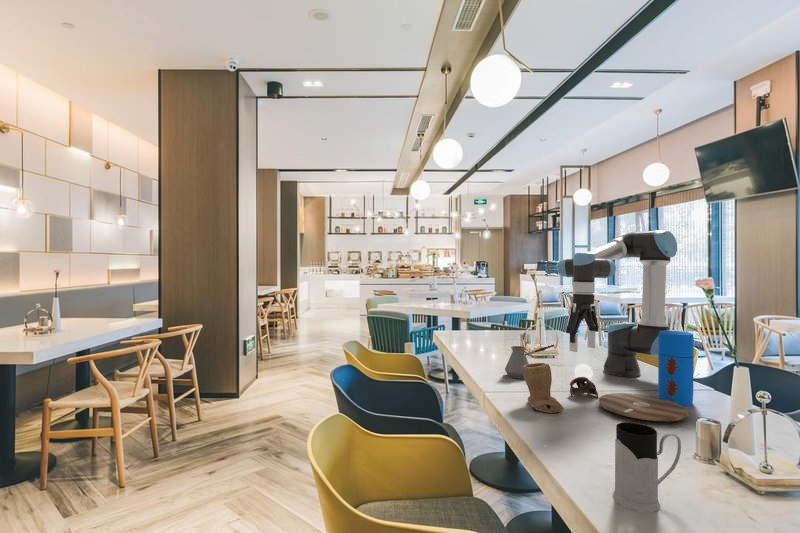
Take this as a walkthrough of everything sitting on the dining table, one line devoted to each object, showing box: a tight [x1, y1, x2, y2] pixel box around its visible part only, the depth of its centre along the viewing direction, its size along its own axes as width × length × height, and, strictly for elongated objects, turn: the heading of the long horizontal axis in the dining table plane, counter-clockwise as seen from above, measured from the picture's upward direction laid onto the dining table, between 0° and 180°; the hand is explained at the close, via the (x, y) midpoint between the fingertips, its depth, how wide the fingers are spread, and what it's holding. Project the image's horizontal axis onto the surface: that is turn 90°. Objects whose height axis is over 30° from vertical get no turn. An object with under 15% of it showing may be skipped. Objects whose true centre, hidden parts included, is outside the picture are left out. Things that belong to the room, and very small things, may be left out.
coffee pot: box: [504, 344, 556, 379], centre depth 190 cm, size 21×12×15 cm, turn 71°
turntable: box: [598, 392, 689, 422], centre depth 145 cm, size 26×26×1 cm
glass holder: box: [612, 421, 682, 513], centre depth 90 cm, size 9×14×15 cm, turn 95°
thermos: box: [657, 330, 695, 407], centre depth 157 cm, size 11×11×25 cm
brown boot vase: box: [523, 362, 565, 414], centre depth 150 cm, size 15×12×15 cm
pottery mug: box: [569, 376, 599, 399], centre depth 164 cm, size 12×10×8 cm
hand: (582, 349), depth 164 cm, fingers open, 13 cm apart
